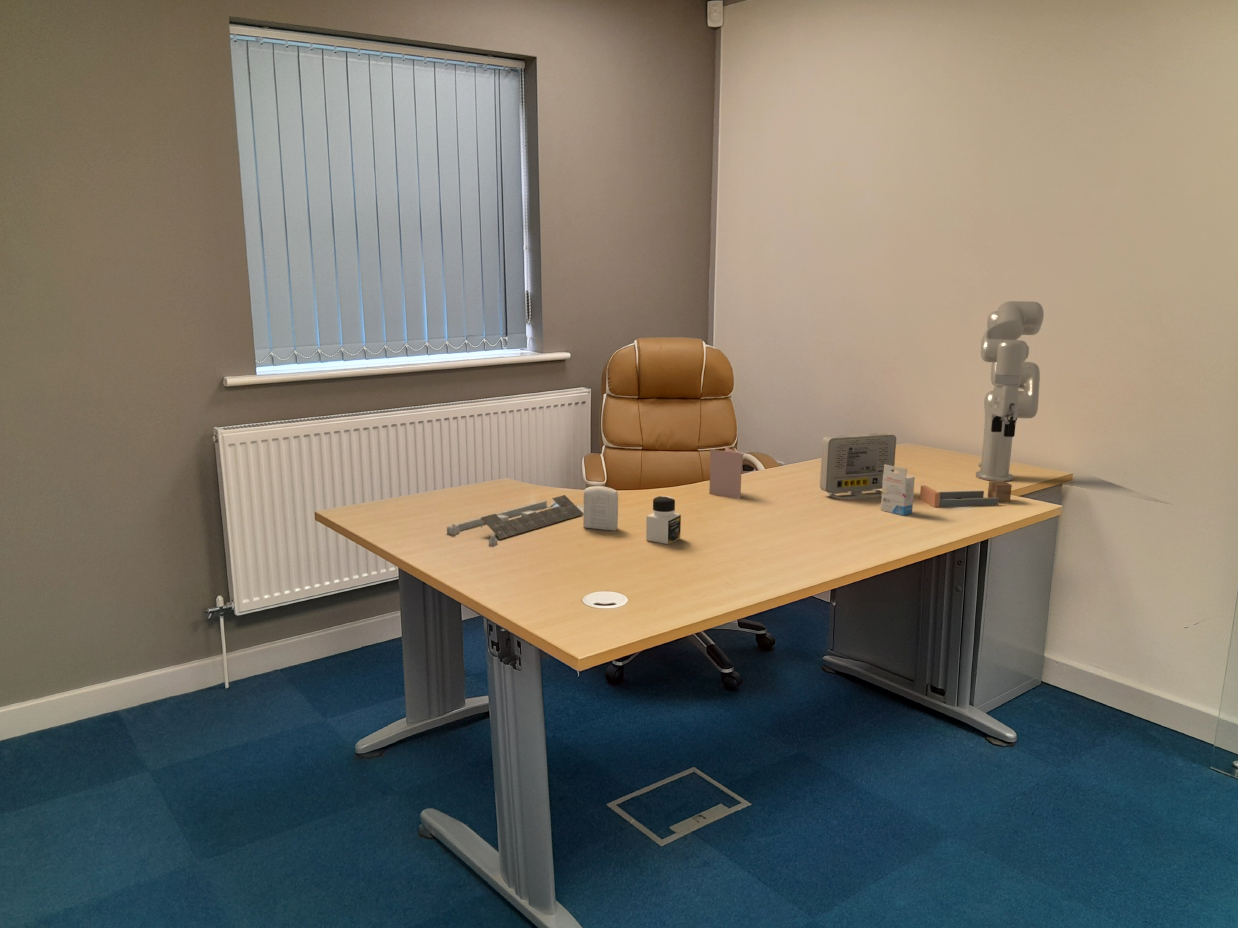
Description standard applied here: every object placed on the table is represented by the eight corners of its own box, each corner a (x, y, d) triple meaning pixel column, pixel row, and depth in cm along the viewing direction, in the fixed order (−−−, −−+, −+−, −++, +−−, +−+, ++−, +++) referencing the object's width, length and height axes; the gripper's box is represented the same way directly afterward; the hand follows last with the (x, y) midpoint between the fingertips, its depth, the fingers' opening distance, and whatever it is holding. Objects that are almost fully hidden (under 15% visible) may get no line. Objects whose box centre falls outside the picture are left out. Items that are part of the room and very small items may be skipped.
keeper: (987, 499, 302) (989, 481, 300) (1001, 498, 302) (1003, 481, 301) (995, 503, 297) (997, 485, 295) (1009, 502, 297) (1011, 484, 296)
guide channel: (919, 498, 301) (920, 485, 300) (981, 497, 304) (983, 483, 303) (934, 507, 291) (935, 493, 290) (998, 505, 294) (999, 491, 293)
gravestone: (619, 527, 267) (620, 486, 264) (615, 531, 263) (615, 489, 260) (586, 524, 270) (586, 483, 267) (581, 528, 266) (581, 486, 263)
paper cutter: (447, 534, 261) (446, 515, 259) (557, 504, 294) (557, 487, 293) (490, 547, 249) (489, 527, 248) (599, 514, 282) (599, 496, 281)
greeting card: (742, 498, 301) (744, 453, 297) (722, 500, 298) (723, 455, 295) (726, 490, 311) (727, 446, 308) (706, 492, 308) (707, 448, 305)
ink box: (912, 513, 284) (916, 466, 281) (903, 516, 281) (907, 468, 278) (889, 507, 290) (892, 462, 287) (879, 510, 287) (883, 464, 284)
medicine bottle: (668, 544, 251) (669, 502, 249) (645, 540, 255) (646, 498, 252) (680, 538, 257) (681, 496, 255) (658, 534, 261) (659, 493, 258)
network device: (882, 488, 314) (886, 431, 310) (897, 495, 306) (901, 435, 302) (815, 494, 306) (819, 435, 302) (829, 500, 298) (833, 440, 294)
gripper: (984, 378, 300) (980, 430, 303) (1007, 383, 283) (1002, 438, 286) (1007, 378, 300) (1002, 430, 303) (1031, 383, 283) (1026, 438, 286)
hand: (1002, 434), depth 295 cm, fingers open, 9 cm apart
